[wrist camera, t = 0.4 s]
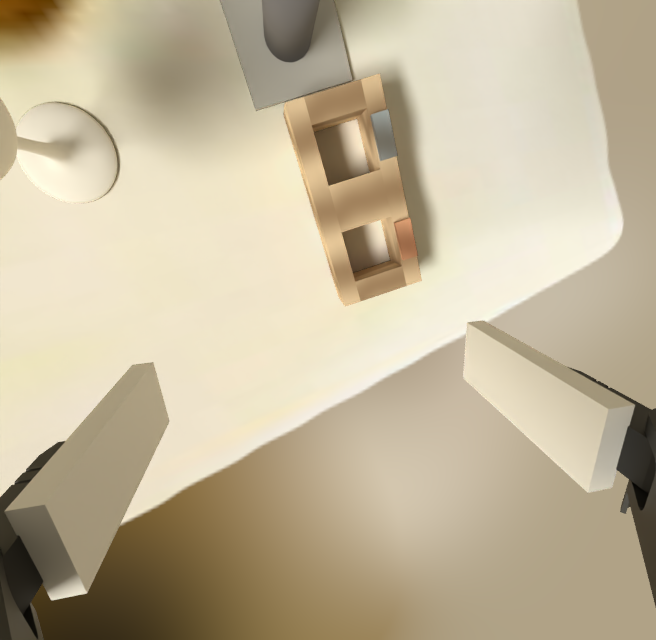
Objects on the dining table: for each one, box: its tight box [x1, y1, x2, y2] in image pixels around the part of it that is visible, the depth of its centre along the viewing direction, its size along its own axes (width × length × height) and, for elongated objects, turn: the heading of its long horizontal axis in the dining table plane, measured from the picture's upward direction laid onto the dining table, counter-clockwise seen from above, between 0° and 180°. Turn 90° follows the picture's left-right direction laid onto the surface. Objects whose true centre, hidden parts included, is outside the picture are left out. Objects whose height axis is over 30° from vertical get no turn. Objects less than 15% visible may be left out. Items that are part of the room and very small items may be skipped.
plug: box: [262, 0, 320, 63], centre depth 26 cm, size 4×4×11 cm
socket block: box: [284, 74, 422, 306], centre depth 35 cm, size 20×9×5 cm, turn 17°
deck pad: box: [220, 0, 352, 111], centre depth 31 cm, size 10×10×1 cm
